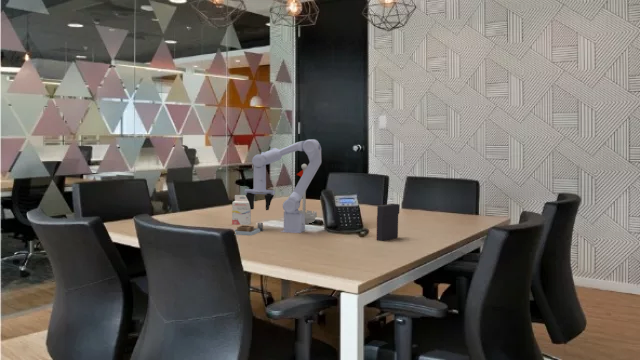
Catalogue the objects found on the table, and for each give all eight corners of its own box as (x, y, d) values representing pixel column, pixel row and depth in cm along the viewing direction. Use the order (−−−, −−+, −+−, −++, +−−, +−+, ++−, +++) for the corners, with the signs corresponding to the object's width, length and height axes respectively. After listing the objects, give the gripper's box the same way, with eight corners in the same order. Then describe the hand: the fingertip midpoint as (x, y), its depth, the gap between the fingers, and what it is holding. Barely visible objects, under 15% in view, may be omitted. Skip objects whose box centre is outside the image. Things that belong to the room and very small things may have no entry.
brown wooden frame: (248, 234, 249) (248, 227, 248) (237, 233, 250) (237, 227, 250) (254, 232, 255) (254, 225, 255) (243, 231, 257) (243, 224, 256)
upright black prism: (391, 236, 249) (391, 203, 248) (399, 238, 246) (399, 204, 245) (375, 240, 241) (375, 205, 240) (383, 241, 238) (383, 206, 237)
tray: (260, 233, 256) (260, 228, 255) (251, 236, 246) (251, 232, 246) (240, 231, 258) (240, 227, 258) (231, 235, 249) (231, 230, 249)
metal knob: (267, 230, 261) (267, 222, 261) (263, 232, 257) (263, 224, 256) (257, 230, 263) (257, 221, 262) (252, 232, 258) (252, 223, 258)
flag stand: (305, 219, 297) (305, 162, 295) (321, 222, 288) (322, 164, 285) (286, 222, 288) (286, 163, 286) (302, 225, 279) (303, 164, 276)
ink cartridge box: (231, 225, 276) (231, 195, 274) (234, 224, 280) (234, 194, 279) (248, 226, 275) (248, 196, 274) (251, 224, 280) (251, 195, 278)
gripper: (241, 180, 258) (241, 209, 259) (270, 181, 254) (270, 211, 255) (248, 179, 265) (248, 208, 266) (276, 180, 261) (276, 209, 262)
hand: (259, 209), depth 261 cm, fingers open, 7 cm apart
